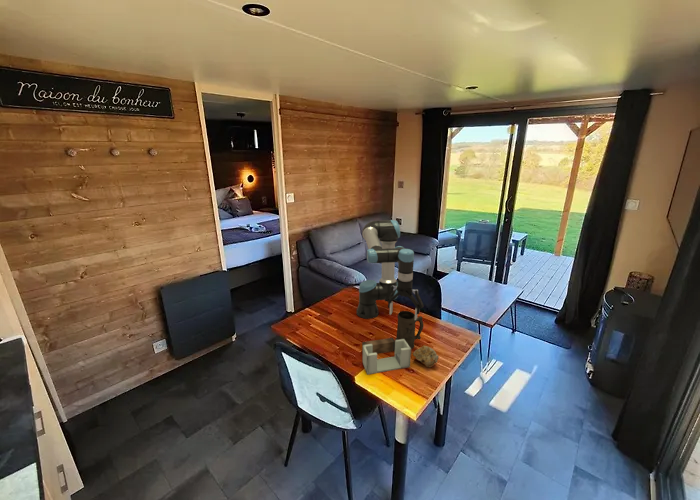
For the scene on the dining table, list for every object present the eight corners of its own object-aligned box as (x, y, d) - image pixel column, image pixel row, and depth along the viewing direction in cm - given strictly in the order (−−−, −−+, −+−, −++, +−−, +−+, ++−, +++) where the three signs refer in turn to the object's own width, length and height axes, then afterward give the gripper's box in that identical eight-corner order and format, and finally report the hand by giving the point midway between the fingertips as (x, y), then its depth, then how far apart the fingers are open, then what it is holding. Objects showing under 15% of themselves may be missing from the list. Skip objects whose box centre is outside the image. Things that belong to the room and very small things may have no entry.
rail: (364, 355, 163) (364, 346, 161) (362, 351, 167) (362, 342, 165) (395, 350, 167) (395, 341, 165) (392, 346, 171) (392, 337, 169)
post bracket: (362, 363, 158) (362, 345, 154) (403, 356, 163) (404, 338, 159) (367, 374, 149) (367, 355, 146) (410, 367, 154) (411, 348, 151)
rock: (433, 357, 162) (434, 341, 159) (439, 370, 152) (440, 353, 149) (411, 357, 161) (412, 341, 158) (415, 370, 151) (416, 354, 148)
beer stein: (399, 352, 166) (402, 320, 160) (391, 341, 176) (394, 310, 170) (423, 349, 170) (428, 317, 164) (414, 338, 180) (419, 308, 174)
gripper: (379, 277, 154) (378, 314, 161) (428, 286, 144) (425, 324, 150) (384, 272, 161) (383, 308, 167) (431, 280, 150) (428, 317, 157)
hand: (403, 316), depth 159 cm, fingers open, 13 cm apart
